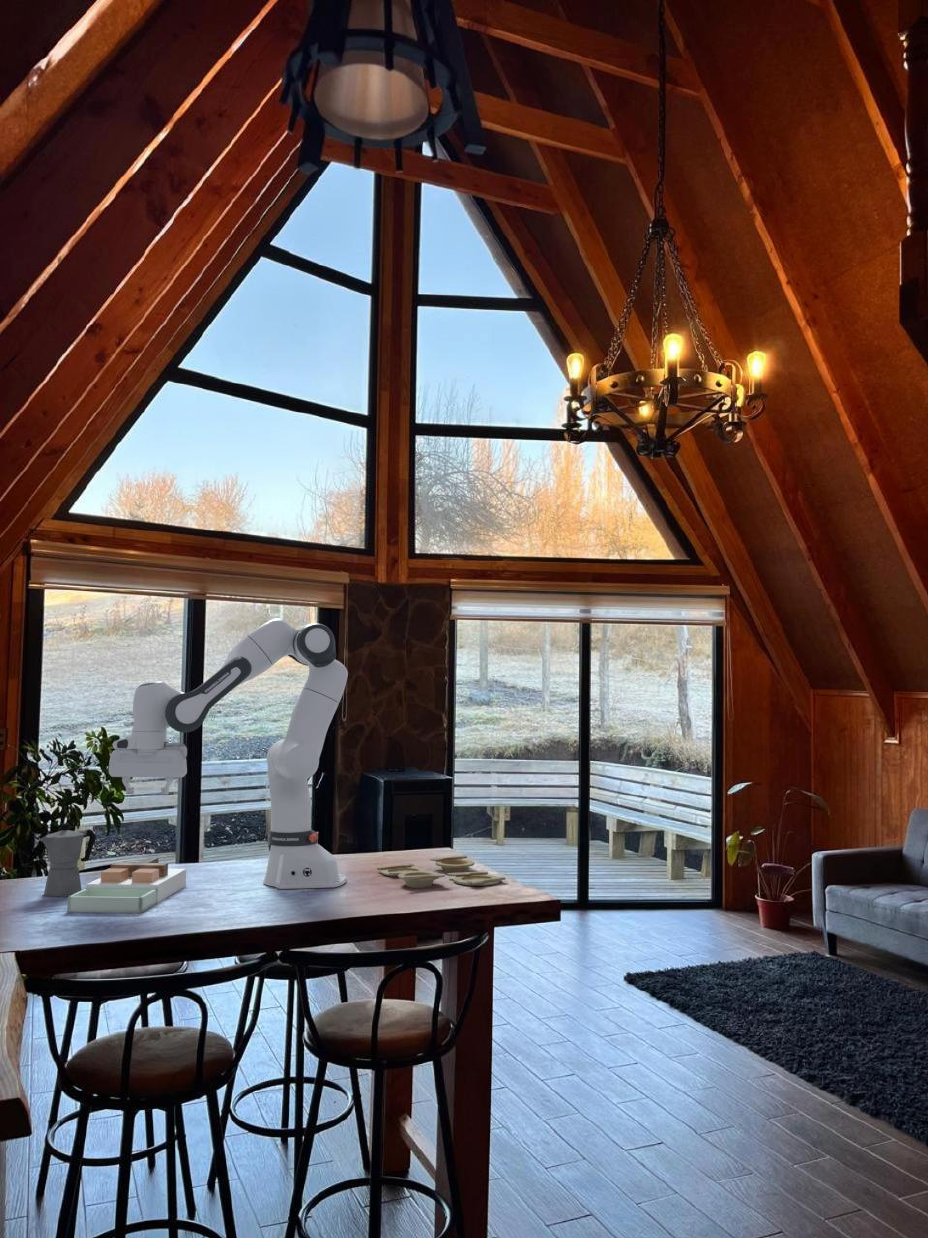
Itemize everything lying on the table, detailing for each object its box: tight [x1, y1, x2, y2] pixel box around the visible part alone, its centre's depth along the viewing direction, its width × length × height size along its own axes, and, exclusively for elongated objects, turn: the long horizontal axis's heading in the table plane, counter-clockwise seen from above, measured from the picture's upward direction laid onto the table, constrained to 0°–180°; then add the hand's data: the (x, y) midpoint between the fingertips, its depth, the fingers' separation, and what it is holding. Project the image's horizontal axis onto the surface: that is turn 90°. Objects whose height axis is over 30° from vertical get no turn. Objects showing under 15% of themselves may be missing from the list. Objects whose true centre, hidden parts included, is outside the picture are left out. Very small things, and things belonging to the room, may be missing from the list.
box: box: [66, 887, 158, 914], centre depth 225 cm, size 18×10×4 cm, turn 88°
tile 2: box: [100, 867, 128, 882], centre depth 235 cm, size 5×5×2 cm
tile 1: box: [132, 869, 159, 883], centre depth 235 cm, size 5×5×2 cm
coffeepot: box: [39, 822, 97, 898], centre depth 242 cm, size 15×9×18 cm, turn 144°
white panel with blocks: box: [85, 868, 187, 904], centre depth 241 cm, size 18×21×4 cm
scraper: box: [110, 857, 169, 877], centre depth 245 cm, size 14×11×3 cm
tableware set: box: [376, 854, 507, 889], centre depth 263 cm, size 35×29×4 cm
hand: (147, 794), depth 247 cm, fingers open, 8 cm apart
